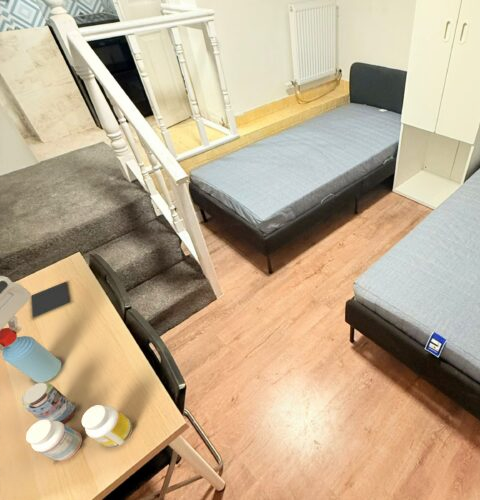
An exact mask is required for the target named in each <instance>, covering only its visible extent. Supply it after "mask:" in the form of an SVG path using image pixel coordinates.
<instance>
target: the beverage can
mask: <svg viewBox="0 0 480 500" xmlns="http://www.w3.org/2000/svg"><path fill="white" fill-rule="evenodd" d="M21 401H22V407H23V408H24V409H25V410H26V411H28V412H29V413H31V414H32V415H33V416H34V417H36V418H37V419H38V421H40V420H43V419H46V420H49V421H59V422H61V423H63V424H65V425H67V424H68V423H69V422H70V421H71V420H72V419H73V417H74V415H76V412H77V411H76V409H77V408H76V406H75V405H74V404H73V403H72V402H71V401H70V400H69V399H68V398H67V397H66V396H65V395H64V394H63V393H62V392H61V391H60V390H58V388H56V387H55V386H54V385H53V384H51V383H46V382H42V383H38V382H37V383H35V384H33V385H32V386H31V387H29V388H28V389H27V390H26V391H25V392H24V393H23V395H22V397H21Z"/></svg>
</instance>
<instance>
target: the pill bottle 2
mask: <svg viewBox="0 0 480 500" xmlns="http://www.w3.org/2000/svg"><path fill="white" fill-rule="evenodd" d="M81 424H82V426H83V428H84V430H85V431H84V432H85V433H86V435H87V436H88V437H89V438H91V439H93V440H94V441H96V442H98V443H99V444H102V445H103V446H104V447H107V448H111V449H113V448H117V447H119V446H121V445H123V444H125V442H127V440H128V439H129V437H130V436H131V433H132V430H133V423H132V422H131V420H130V419H129V418H128V417H126V416H125V415H124V414H122V413H121V412H120V411H119V410H117V409H116V408H115V407H113V406H110V405H109V406H108V405H106V406H103V405H101V404H95V405H93V406H91V407H89V408H88V409H87V410H86V411H85V412H84V414H83V415H82V417H81Z"/></svg>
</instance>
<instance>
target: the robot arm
mask: <svg viewBox="0 0 480 500" xmlns="http://www.w3.org/2000/svg"><path fill="white" fill-rule="evenodd" d="M31 299H32V295H31V292H30V291H29V290H28V289H27V288H26V287H24V286H23V285H22V284H20V283H19V282H15V281H12V279H11V278H9V277H7V276H3V275H0V330H1V329H3V328H5V326H6V325H7V324H8V328H9V329H11V330H12V331H14V332H15V333H16V334H17V335H18V334H19V332H21V330H22V329H23V328H22V327H21V326H19V322H18V317H17V316H16V315H17V313H19V312H20V310H21V309H22V308H24V306H25V305H26V304H27V303H28V302H29V301H30V300H31ZM4 348H5V347H4V346H3V345H2V344H0V354H2V352H3V349H4Z"/></svg>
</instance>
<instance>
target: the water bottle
mask: <svg viewBox="0 0 480 500" xmlns="http://www.w3.org/2000/svg"><path fill="white" fill-rule="evenodd" d="M1 356H2V359H3V360H4V361H5V362H6V363H8V364H10V365H11V366H12V367H14V368H15V369H17V371H20V372H21V373H23V375H25V376H26V377H28V378H29V379H31V380H32V381H34V382H35V383H37V384H38V383H46V382H48V381H50V380H52V379H54V378H55V377H56V376H57V375H58V373H60V371H61V369H62V361H61V360H60V359H59V358H58V357H56V356H55V355H54V353H52V352H51V351H49V350H48V349H47V348H46V347H45V346H43V345H42V344H41V343H39V342H38V340H36V339H35V338H34V337H32V336H29V335H22V336H21V335H20V336H17V338H16V340H15V341H14V342H13V343H12V344H10V345H8V346H5V348H4V349H3V350H2V352H1Z"/></svg>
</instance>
